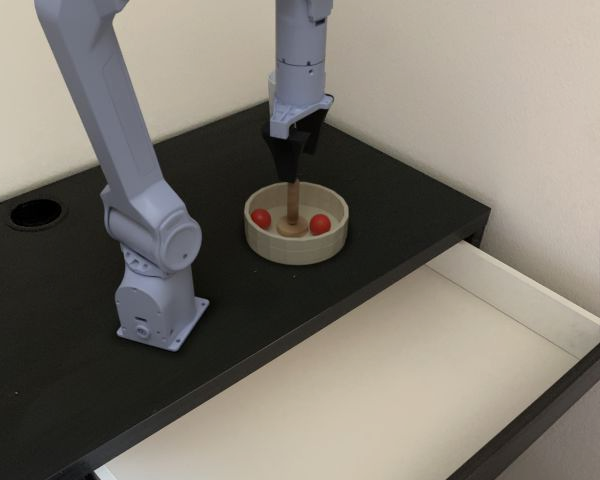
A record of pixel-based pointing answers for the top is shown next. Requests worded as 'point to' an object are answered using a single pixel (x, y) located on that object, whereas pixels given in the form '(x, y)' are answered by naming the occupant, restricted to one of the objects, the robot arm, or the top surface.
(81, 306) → the top surface
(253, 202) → the bowl
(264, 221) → the tomato
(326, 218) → the tomato
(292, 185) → the wooden peg stand
